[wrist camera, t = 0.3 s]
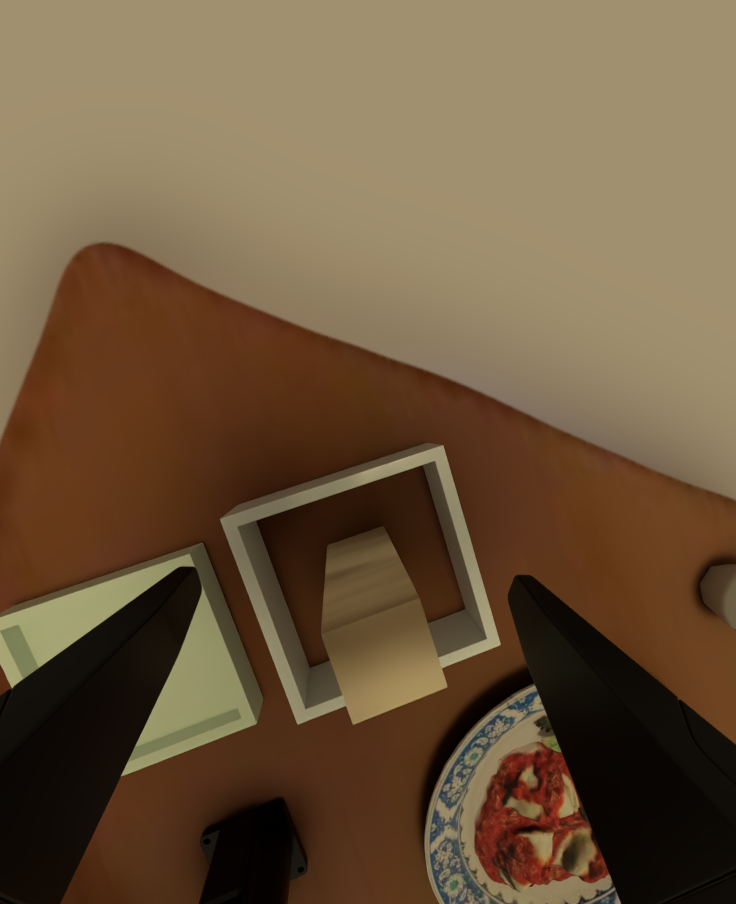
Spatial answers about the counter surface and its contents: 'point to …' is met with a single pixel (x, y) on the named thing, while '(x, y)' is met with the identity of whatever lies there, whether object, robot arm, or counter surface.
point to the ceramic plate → (512, 817)
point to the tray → (193, 675)
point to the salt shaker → (721, 592)
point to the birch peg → (376, 628)
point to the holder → (302, 684)
